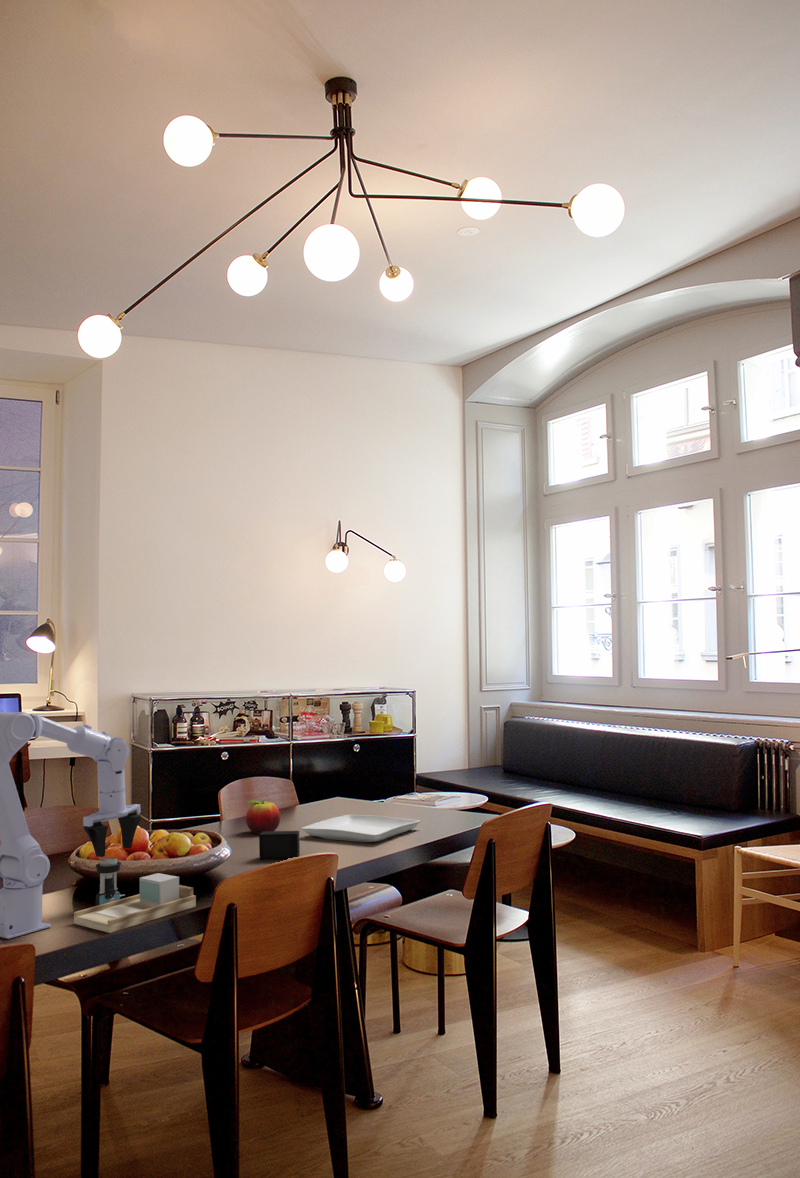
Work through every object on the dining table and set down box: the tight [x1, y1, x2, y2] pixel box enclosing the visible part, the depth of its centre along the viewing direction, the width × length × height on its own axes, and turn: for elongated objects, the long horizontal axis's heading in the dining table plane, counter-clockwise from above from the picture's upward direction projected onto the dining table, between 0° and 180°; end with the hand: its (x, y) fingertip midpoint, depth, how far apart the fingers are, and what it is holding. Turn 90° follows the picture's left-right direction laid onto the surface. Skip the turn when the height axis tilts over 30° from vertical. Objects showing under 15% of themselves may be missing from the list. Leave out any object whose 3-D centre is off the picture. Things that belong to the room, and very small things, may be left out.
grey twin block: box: [139, 872, 180, 905], centre depth 192 cm, size 5×7×5 cm
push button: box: [95, 857, 125, 906], centre depth 195 cm, size 7×5×10 cm
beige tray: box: [73, 884, 197, 934], centre depth 187 cm, size 22×12×4 cm, turn 144°
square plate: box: [300, 813, 421, 843], centre depth 269 cm, size 27×27×4 cm
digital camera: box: [258, 830, 301, 861], centre depth 239 cm, size 10×5×7 cm, turn 89°
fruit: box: [245, 799, 281, 835], centre depth 276 cm, size 11×11×10 cm
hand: (114, 852), depth 196 cm, fingers open, 7 cm apart
